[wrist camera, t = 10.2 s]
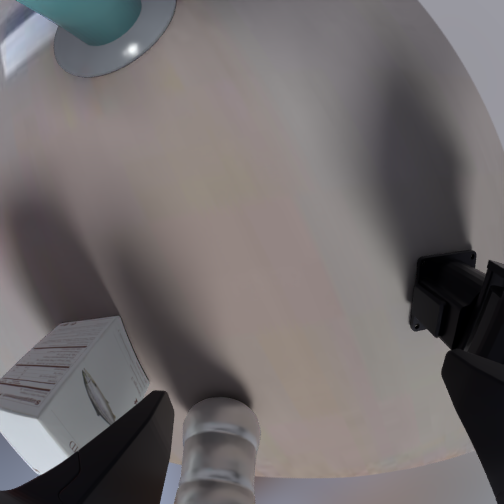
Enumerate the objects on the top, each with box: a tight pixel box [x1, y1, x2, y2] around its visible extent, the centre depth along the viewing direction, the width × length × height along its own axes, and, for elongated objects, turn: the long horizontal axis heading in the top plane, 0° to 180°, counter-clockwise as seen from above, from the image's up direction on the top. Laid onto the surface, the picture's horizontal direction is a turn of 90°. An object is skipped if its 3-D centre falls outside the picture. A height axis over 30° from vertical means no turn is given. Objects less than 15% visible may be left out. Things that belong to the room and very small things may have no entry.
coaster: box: [54, 0, 176, 78], centre depth 15 cm, size 11×11×1 cm
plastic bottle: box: [174, 397, 261, 504], centre depth 14 cm, size 6×7×20 cm
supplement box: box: [0, 316, 150, 475], centre depth 16 cm, size 7×7×13 cm
